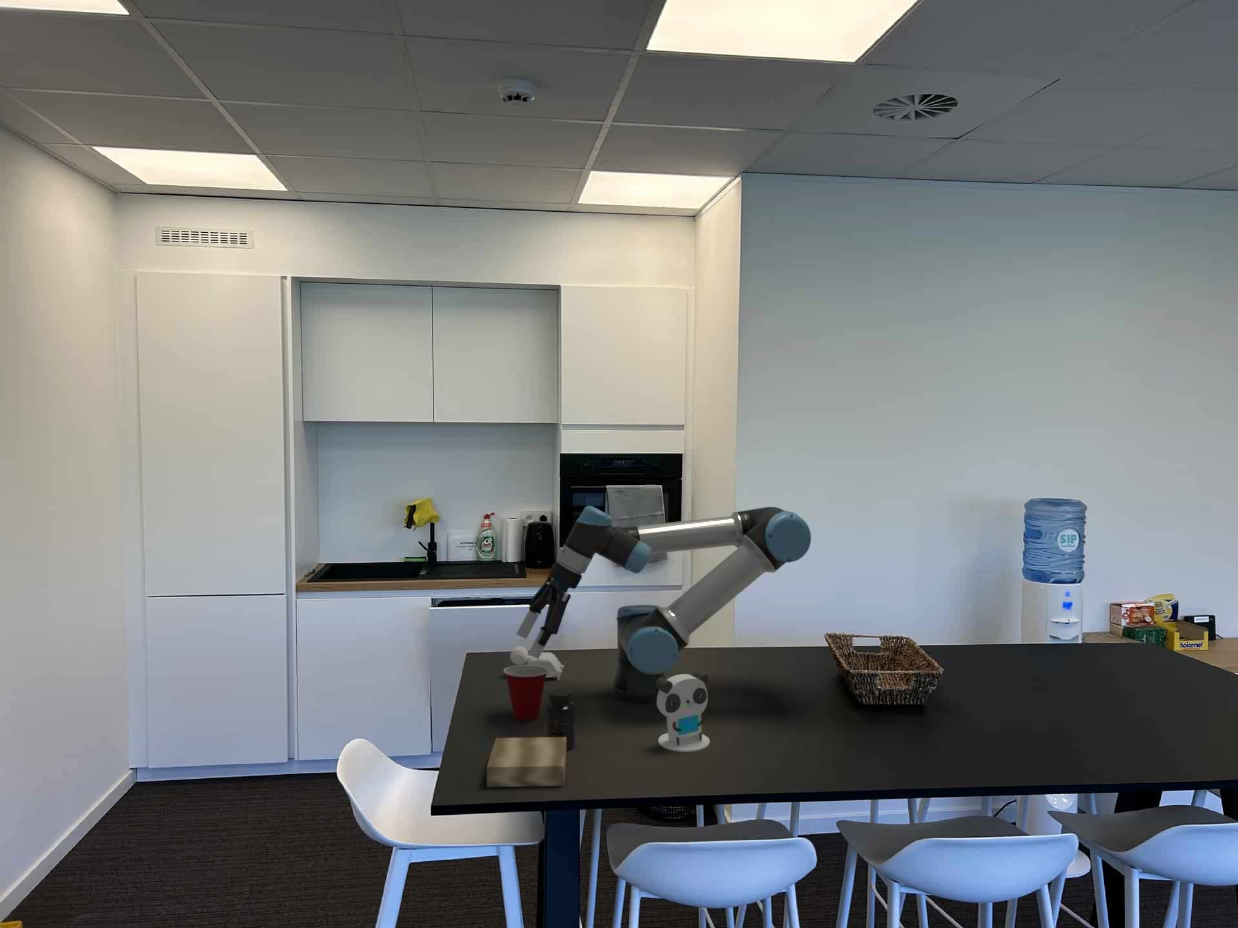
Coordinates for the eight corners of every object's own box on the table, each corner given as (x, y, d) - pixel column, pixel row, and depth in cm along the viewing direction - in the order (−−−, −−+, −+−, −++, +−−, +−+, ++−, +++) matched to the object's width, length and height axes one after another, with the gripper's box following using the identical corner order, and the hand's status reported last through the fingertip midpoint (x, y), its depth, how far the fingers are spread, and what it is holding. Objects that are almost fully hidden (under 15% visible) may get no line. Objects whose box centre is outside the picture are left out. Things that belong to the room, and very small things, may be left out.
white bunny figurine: (556, 683, 245) (507, 663, 245) (567, 655, 244) (517, 636, 244) (553, 693, 236) (502, 673, 237) (564, 664, 236) (513, 644, 236)
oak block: (566, 755, 187) (566, 736, 186) (563, 785, 172) (563, 765, 171) (496, 756, 186) (496, 737, 186) (487, 786, 171) (486, 766, 171)
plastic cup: (556, 711, 213) (555, 663, 212) (538, 727, 203) (537, 676, 202) (516, 707, 217) (515, 659, 216) (496, 722, 206) (495, 672, 206)
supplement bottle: (545, 740, 195) (544, 687, 194) (575, 738, 196) (575, 686, 195) (545, 752, 188) (544, 697, 188) (576, 750, 189) (576, 696, 188)
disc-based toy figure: (672, 756, 186) (672, 687, 185) (646, 738, 196) (646, 672, 195) (719, 745, 191) (719, 678, 190) (691, 728, 201) (691, 665, 200)
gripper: (544, 548, 219) (503, 622, 218) (569, 575, 195) (524, 658, 195) (569, 560, 221) (529, 634, 221) (597, 588, 198) (552, 671, 197)
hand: (526, 645), depth 208 cm, fingers open, 13 cm apart
